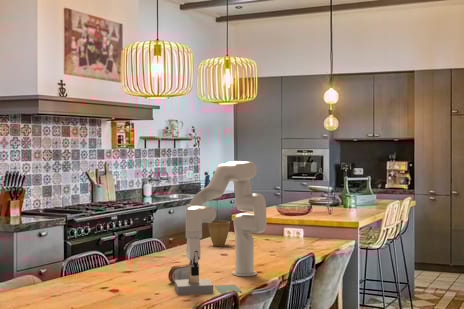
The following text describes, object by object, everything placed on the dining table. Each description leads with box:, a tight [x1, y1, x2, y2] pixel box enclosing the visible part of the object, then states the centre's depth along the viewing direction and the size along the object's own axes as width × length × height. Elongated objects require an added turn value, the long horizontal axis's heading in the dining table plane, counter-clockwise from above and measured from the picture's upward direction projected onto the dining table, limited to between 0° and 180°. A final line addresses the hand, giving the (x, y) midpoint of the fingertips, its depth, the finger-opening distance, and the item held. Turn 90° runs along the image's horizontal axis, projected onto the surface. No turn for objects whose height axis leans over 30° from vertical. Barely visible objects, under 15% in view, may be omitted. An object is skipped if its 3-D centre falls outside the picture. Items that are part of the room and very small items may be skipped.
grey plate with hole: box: [174, 278, 214, 295], centre depth 280 cm, size 14×16×4 cm
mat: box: [214, 284, 242, 294], centre depth 284 cm, size 14×10×1 cm
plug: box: [188, 262, 200, 284], centre depth 281 cm, size 4×4×9 cm
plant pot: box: [207, 220, 231, 247], centre depth 410 cm, size 15×15×16 cm
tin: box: [167, 263, 189, 284], centre depth 299 cm, size 15×3×8 cm, turn 131°
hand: (193, 274), depth 281 cm, fingers closed on plug, 4 cm apart
